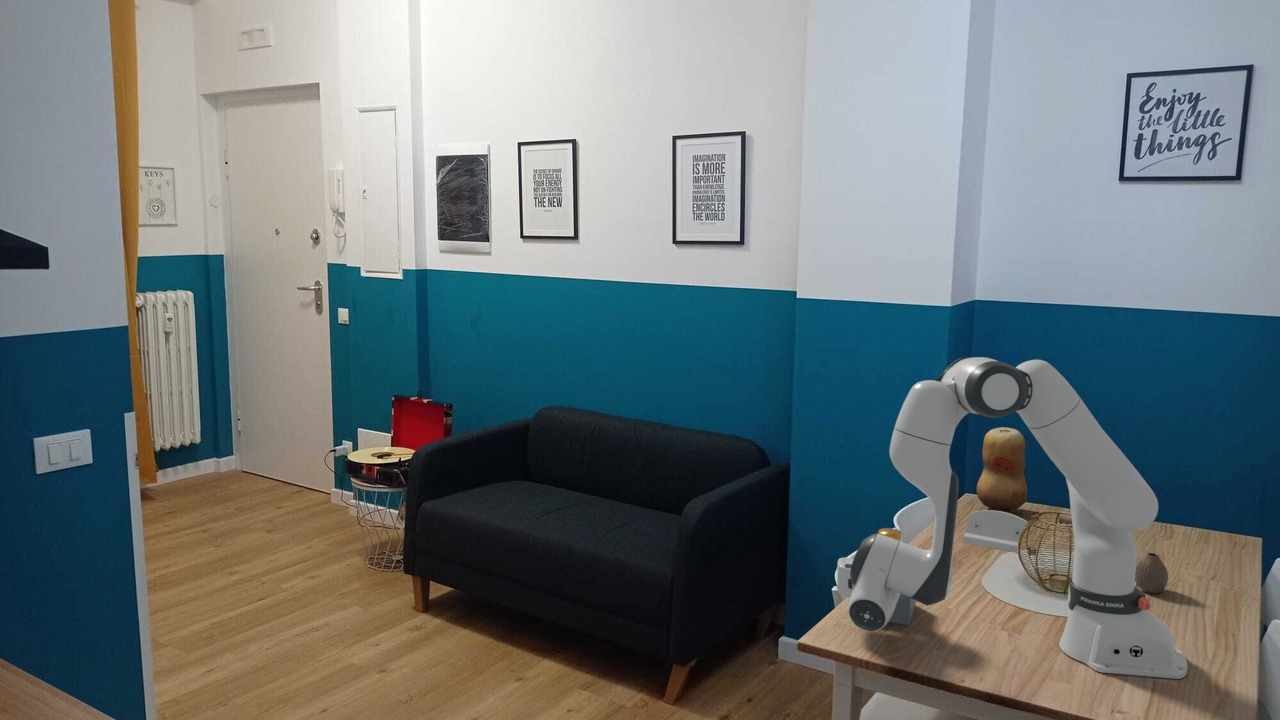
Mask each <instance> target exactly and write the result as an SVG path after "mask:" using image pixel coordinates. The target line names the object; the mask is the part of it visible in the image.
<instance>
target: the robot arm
mask: <svg viewBox="0 0 1280 720" xmlns="http://www.w3.org/2000/svg"><path fill="white" fill-rule="evenodd" d="M1014 412H1016V413H1017V414H1018V415H1019V416H1020V418H1021V420H1022V421H1023V422H1024V424H1025V425H1026V427H1027V428H1028V429H1029V431H1030V432H1031V434H1032V435H1033V436H1034V438H1035V440H1036V441H1037V442H1038V443H1039V445H1040V447H1041V448H1042V449H1043V451H1044V452H1045V454H1046V455H1047V456H1048V458H1049V460H1051V461H1052V463H1053V464H1054V465H1055V466H1056V468H1057V469H1058V470H1059V471H1060V472H1061V474H1062V475H1063V476H1064V477H1065V480H1066V481H1065V482H1066V485H1067V488H1068V494H1069V503H1070V516H1071V522H1072V523H1071V524H1072V533H1073V559H1072V560H1073V561H1072V562H1073V563H1072V576H1071V578H1070V580H1069V585H1068V591H1067V593H1068V594H1067V604H1068V608H1069V609H1068V613H1067V618H1066V623H1065V627H1064V630H1063V633H1062V635H1061V638H1060V640H1059V643H1058V644H1059V648H1060V649H1061V650H1062V652H1063V653H1065V654H1066V655H1067V656H1069V657H1070V658H1072V659H1074V660H1076V661H1079V662H1081V663H1083V664H1085V665H1087V666H1088V667H1090V668H1091V669H1092V670H1094V671H1096V672H1099V673H1103V674H1104V673H1105V674H1114V675H1115V674H1116V675H1128V676H1137V677H1138V676H1140V677H1151V678H1163V679H1173V680H1174V679H1176V680H1180V679H1182V678H1184V677H1185V676H1186V675H1187V674H1188V662H1187V658H1186V656H1185V655H1184V653H1183V652H1182V650H1180V649H1179V648H1177V647H1176V646H1175V645H1176V644H1175V641H1174V637H1173V633H1172V632H1171V630H1170V628H1169V627H1168V625H1167V624H1165V622H1163V621H1162V620H1161V619H1159V618H1158V617H1157V616H1155V615H1154V614H1153V613H1152V612H1151V611H1150V610H1149V609H1150V608H1151V604H1150V601H1149V599H1148V598H1146V593H1145V592H1144V591H1142V590H1141V588H1140V587H1136V585H1135V584H1136V582H1135V572H1136V566H1137V558H1138V557H1137V556H1138V555H1137V554H1138V551H1137V547H1136V544H1135V542H1134V538H1133V533H1135V532H1140V531H1142V530H1144V529H1146V528H1148V527H1149V526H1150V525H1151V524H1152V523H1153V522H1154V521H1155V519H1156V517H1157V515H1158V512H1159V502H1158V498H1157V497H1156V494H1155V492H1154V491H1153V489H1152V488H1151V487H1150V485H1149V484H1148V483H1147V482H1146V480H1145V479H1144V477H1143V476H1142V475H1141V474H1140V472H1139V471H1138V470H1137V469H1136V468H1135V466H1134V465H1133V464H1132V463H1131V461H1130V460H1129V459H1128V458H1127V456H1126V454H1124V453H1123V451H1122V450H1121V449H1120V448H1119V447H1118V445H1117V444H1116V443H1115V442H1114V441H1113V439H1112V438H1110V436H1109V435H1108V434H1107V432H1106V431H1105V430H1104V428H1102V427H1101V425H1100V424H1099V422H1098V420H1096V418H1095V417H1094V415H1093V413H1091V411H1090V410H1089V408H1088V407H1087V406H1086V404H1085V402H1084V401H1083V400H1082V398H1081V397H1080V395H1079V394H1078V393H1077V391H1076V390H1075V389H1074V388H1073V387H1072V385H1071V384H1070V383H1069V382H1068V381H1067V380H1066V378H1065V377H1064V376H1063V375H1062V374H1061V373H1060V372H1059V371H1058V370H1057V369H1056V368H1055V367H1054V366H1053V365H1051V364H1050V363H1049V362H1047V361H1046V360H1042V359H1031V360H1026V361H1024V362H1021V363H1020V364H1018V365H1017V366H1016V367H1015V366H1013V365H1011V364H1009V363H1006V362H1002V361H999V360H996V359H993V358H989V357H982V356H980V357H978V356H972V355H971V356H968V355H967V356H962V357H960V358H958V359H956V360H954V361H953V362H952V363H951V364H949V366H947V367H946V369H945V370H944V371H943V372H942V373H941V374H940V375H939V376H937V378H936V379H935V380H932V379H930V380H929V379H927V380H922V381H921V380H920V381H918V382H916V383H915V384H913V386H912V387H911V388H910V390H909V392H908V393H907V395H906V397H905V400H904V401H903V404H902V406H901V409H900V411H899V414H898V416H897V418H896V422H895V425H894V428H893V431H892V435H891V439H890V445H889V450H888V451H889V453H888V454H889V457H890V460H891V463H892V465H893V467H894V468H895V469H896V471H897V472H898V473H899V474H900V475H901V476H902V477H903V478H904V479H905V480H906V481H908V483H910V484H912V485H913V486H914V487H915V488H917V489H918V490H919V491H921V492H922V493H923V494H925V496H926V497H927V498H928V499H929V500H930V501H931V503H932V506H933V508H934V512H935V513H934V524H933V532H932V541H931V548H929V549H923V548H921V547H917V546H914V545H911V544H909V543H906V542H903V541H899V540H896V539H893V538H890V537H887V536H884V535H881V534H878V532H877V533H873V534H870V535H869V536H868V537H866V538H864V539H863V540H862V541H861V543H860V545H859V546H858V549H857V551H856V553H855V554H854V558H852V557H840V558H838V560H837V565H836V568H837V569H836V583H837V591H838V594H839V595H840V596H843V597H846V598H848V599H849V600H848V608H847V610H848V611H847V612H848V616H849V618H850V620H851V621H852V622H853V623H852V624H854V625H855V626H856V627H858V628H859V629H861V630H864V631H868V632H876V631H880V630H882V629H883V628H884V627H886V625H887V624H889V623H890V622H889V620H890V619H891V617H892V615H893V613H894V611H895V608H896V604H897V602H898V599H899V597H900V594H903V595H906V596H909V597H911V599H914V600H916V602H917V603H920V604H923V605H925V606H932V605H934V604H938V603H940V602H943V601H945V599H946V597H947V596H948V595H949V593H950V591H951V588H952V583H953V560H952V557H953V549H954V543H955V542H954V540H955V534H956V533H955V532H956V524H957V515H958V500H959V499H958V498H959V491H960V490H959V488H960V485H959V477H958V475H957V474H956V473H955V472H954V471H953V470H952V467H951V464H950V462H951V461H950V450H951V446H952V443H953V438H954V435H955V432H956V428H957V427H958V425H959V423H960V422H961V420H962V419H963V418H964V417H965V416H967V415H968V414H969V413H970V414H975V415H980V416H983V417H986V418H1000V417H1005V416H1008V415H1010V414H1013V413H1014Z"/></svg>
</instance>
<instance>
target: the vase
mask: <svg viewBox="0 0 1280 720" xmlns="http://www.w3.org/2000/svg"><path fill="white" fill-rule="evenodd" d="M1168 582H1169V571H1168V568H1167V566H1166V565H1165V564H1164V562H1163V561H1162V560H1161V558H1160V555H1159V554H1157V553H1155V552H1148V553H1146V555H1145V556H1144V557H1143V558H1141V560H1140V561H1138V563H1136V572H1135V584H1136V586H1137V588H1139V587H1140V588H1141V590H1142V592H1143V593H1147V594H1153V595H1154V594H1159V593H1161V592H1163V591H1164V590H1165V588H1167V586H1168Z"/></svg>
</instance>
